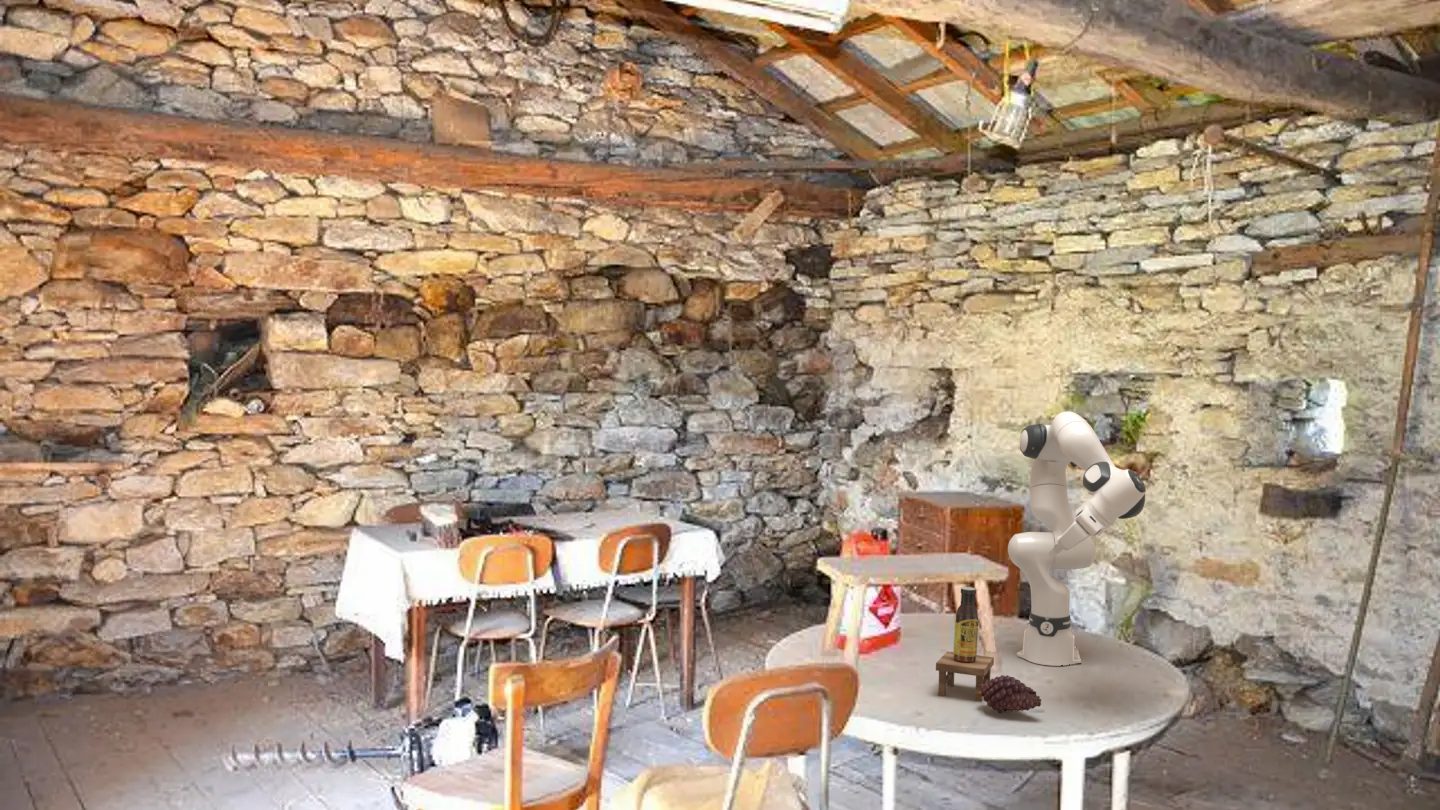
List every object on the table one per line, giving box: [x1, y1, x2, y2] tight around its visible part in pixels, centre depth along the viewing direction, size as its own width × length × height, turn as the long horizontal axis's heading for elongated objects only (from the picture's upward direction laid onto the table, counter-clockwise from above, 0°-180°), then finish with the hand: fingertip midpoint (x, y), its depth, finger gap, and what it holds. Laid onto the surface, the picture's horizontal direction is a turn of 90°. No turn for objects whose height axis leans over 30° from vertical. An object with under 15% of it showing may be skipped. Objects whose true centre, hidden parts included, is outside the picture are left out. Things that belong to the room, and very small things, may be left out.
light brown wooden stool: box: [935, 651, 995, 703], centre depth 301 cm, size 13×13×9 cm
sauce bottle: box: [953, 586, 980, 662], centre depth 300 cm, size 7×6×20 cm
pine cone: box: [977, 674, 1042, 714], centre depth 284 cm, size 18×10×10 cm, turn 49°
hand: (1053, 552), depth 297 cm, fingers open, 8 cm apart
